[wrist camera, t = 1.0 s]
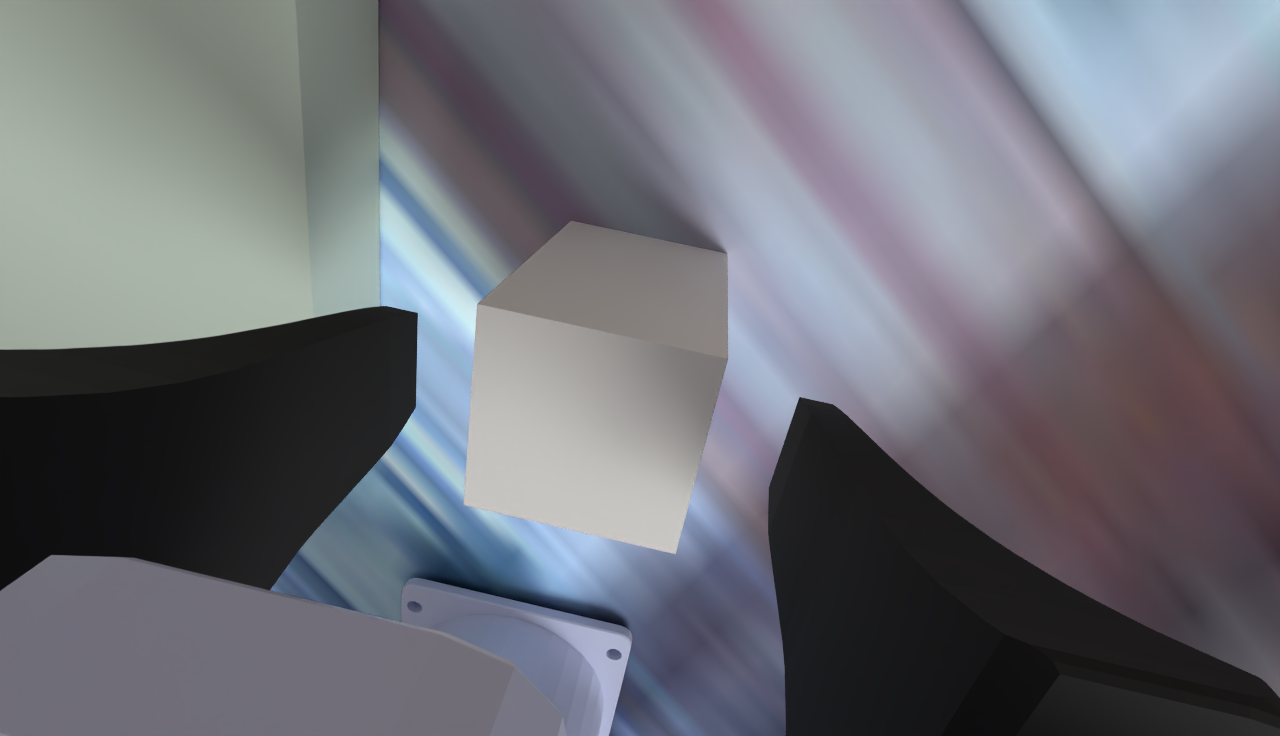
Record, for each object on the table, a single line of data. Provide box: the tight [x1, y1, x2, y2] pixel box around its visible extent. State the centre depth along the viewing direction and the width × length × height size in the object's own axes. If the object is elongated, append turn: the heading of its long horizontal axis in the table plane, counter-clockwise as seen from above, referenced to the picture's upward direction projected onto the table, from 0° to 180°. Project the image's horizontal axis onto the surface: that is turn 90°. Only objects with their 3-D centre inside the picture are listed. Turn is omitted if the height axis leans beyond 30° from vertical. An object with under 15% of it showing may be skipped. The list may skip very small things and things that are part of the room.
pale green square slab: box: [0, 0, 380, 350], centre depth 15 cm, size 16×16×3 cm
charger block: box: [464, 221, 728, 554], centre depth 13 cm, size 4×4×6 cm
